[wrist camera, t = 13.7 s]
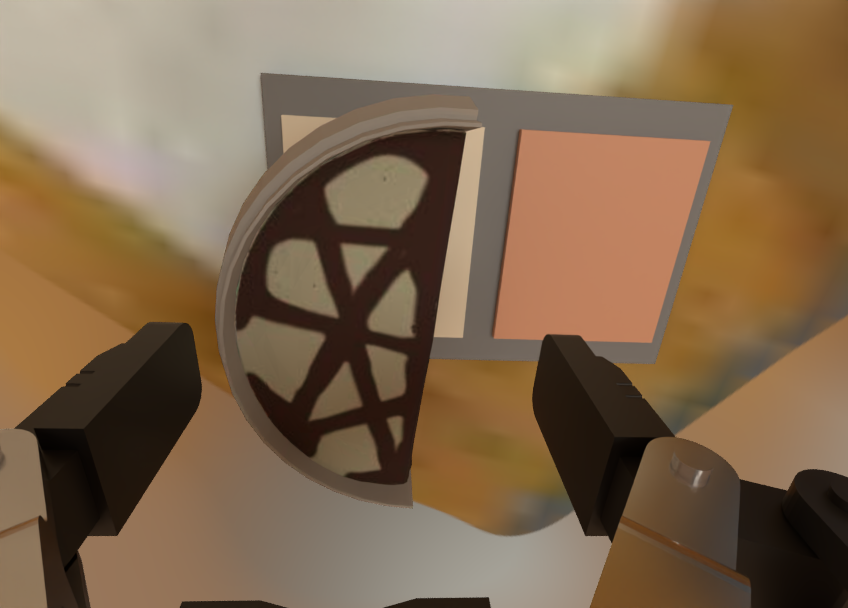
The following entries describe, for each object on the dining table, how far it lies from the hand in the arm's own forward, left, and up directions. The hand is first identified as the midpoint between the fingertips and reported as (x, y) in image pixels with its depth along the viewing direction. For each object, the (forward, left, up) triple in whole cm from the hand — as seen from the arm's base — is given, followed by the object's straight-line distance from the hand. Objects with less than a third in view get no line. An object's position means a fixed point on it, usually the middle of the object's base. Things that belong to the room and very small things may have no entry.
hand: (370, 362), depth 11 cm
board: (0, +5, -12) cm, 13 cm away
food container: (0, -2, -11) cm, 11 cm away
